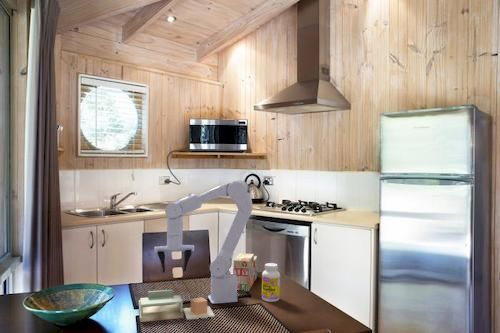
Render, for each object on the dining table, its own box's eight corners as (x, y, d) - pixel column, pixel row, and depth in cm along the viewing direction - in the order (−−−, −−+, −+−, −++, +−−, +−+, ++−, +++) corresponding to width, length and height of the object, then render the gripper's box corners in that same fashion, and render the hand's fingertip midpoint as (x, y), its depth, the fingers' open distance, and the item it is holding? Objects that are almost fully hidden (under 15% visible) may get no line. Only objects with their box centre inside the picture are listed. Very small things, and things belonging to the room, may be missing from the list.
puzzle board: (177, 300, 142) (177, 296, 142) (183, 317, 126) (183, 314, 126) (138, 303, 138) (138, 300, 138) (140, 322, 122) (140, 318, 122)
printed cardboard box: (243, 276, 175) (244, 248, 175) (257, 277, 174) (258, 249, 174) (232, 290, 154) (233, 259, 154) (248, 292, 153) (248, 260, 153)
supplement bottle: (258, 300, 143) (259, 265, 143) (265, 295, 149) (265, 261, 149) (276, 303, 140) (277, 267, 140) (281, 297, 146) (282, 263, 146)
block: (201, 308, 132) (201, 297, 132) (207, 312, 129) (207, 300, 129) (190, 311, 130) (190, 299, 130) (196, 315, 127) (196, 302, 127)
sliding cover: (179, 305, 133) (180, 288, 133) (182, 311, 126) (182, 294, 126) (140, 308, 129) (140, 291, 129) (140, 315, 123) (141, 298, 123)
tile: (209, 307, 135) (209, 305, 135) (214, 317, 127) (214, 315, 127) (183, 309, 132) (183, 308, 132) (186, 319, 124) (186, 318, 124)
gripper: (192, 232, 152) (191, 267, 152) (154, 233, 147) (153, 269, 147) (195, 235, 145) (194, 271, 145) (155, 236, 141) (154, 274, 141)
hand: (174, 271), depth 146 cm, fingers open, 7 cm apart
